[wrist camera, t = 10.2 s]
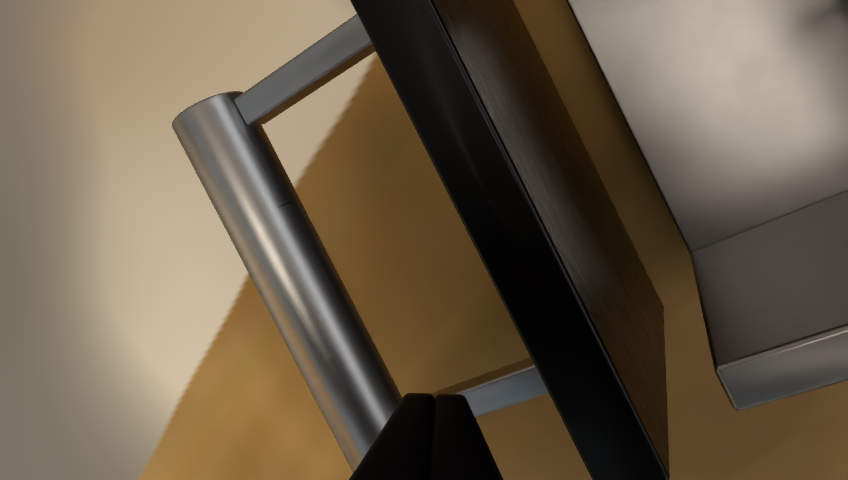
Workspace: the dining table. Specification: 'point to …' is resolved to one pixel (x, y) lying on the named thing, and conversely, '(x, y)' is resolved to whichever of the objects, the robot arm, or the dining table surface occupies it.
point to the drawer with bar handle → (575, 205)
